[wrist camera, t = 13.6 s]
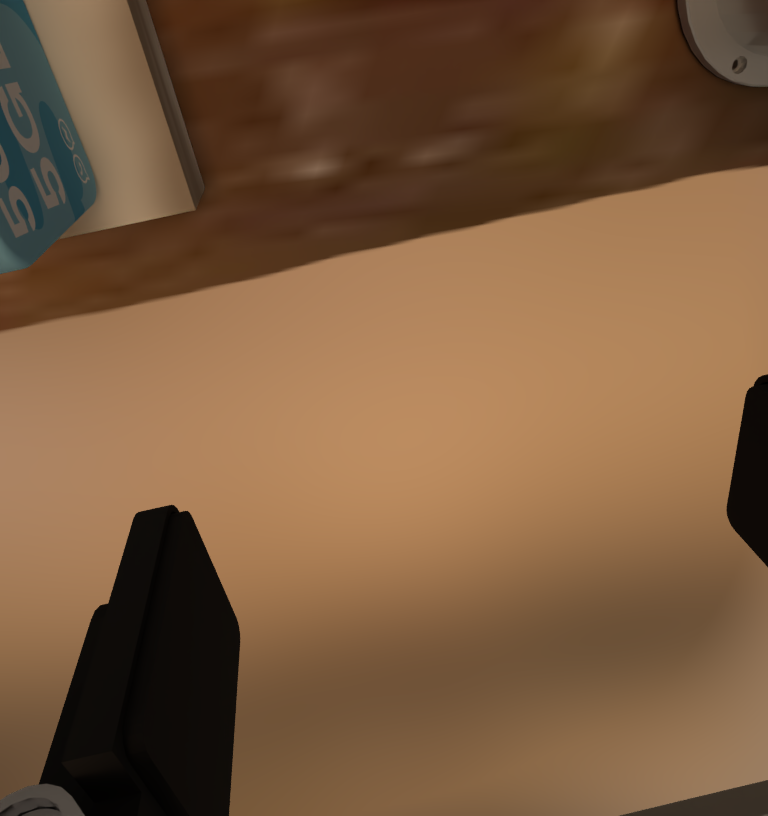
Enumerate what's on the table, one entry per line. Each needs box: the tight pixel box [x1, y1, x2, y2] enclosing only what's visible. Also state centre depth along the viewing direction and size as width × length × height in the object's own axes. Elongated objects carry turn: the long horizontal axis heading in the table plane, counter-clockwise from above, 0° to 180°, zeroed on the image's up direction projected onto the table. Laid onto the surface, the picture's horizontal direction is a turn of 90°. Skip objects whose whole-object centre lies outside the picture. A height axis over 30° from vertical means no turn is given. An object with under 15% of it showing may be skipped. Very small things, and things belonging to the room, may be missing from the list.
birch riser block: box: [23, 0, 205, 239], centre depth 29 cm, size 13×15×5 cm
